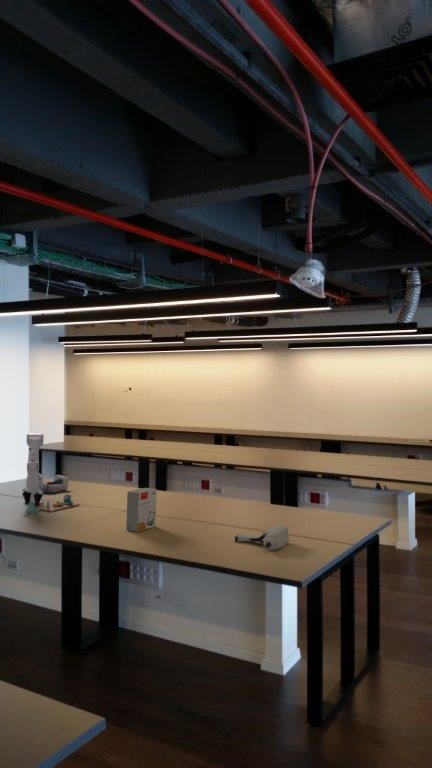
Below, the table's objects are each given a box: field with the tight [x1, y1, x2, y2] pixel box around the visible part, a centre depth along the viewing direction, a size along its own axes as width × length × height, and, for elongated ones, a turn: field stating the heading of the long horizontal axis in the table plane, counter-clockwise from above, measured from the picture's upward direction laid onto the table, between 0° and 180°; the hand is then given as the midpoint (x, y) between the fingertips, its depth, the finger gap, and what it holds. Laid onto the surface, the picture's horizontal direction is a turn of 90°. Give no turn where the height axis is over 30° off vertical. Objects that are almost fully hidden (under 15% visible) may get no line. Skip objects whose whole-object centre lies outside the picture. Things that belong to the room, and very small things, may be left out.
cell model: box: [41, 474, 70, 494], centre depth 397 cm, size 13×11×20 cm
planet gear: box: [24, 502, 40, 514], centre depth 332 cm, size 8×8×5 cm
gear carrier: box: [36, 493, 80, 513], centre depth 345 cm, size 23×13×7 cm, turn 150°
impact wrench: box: [234, 526, 290, 552], centre depth 268 cm, size 8×23×25 cm
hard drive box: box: [125, 487, 157, 533], centre depth 298 cm, size 16×8×20 cm, turn 148°
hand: (32, 505), depth 332 cm, fingers open, 7 cm apart
